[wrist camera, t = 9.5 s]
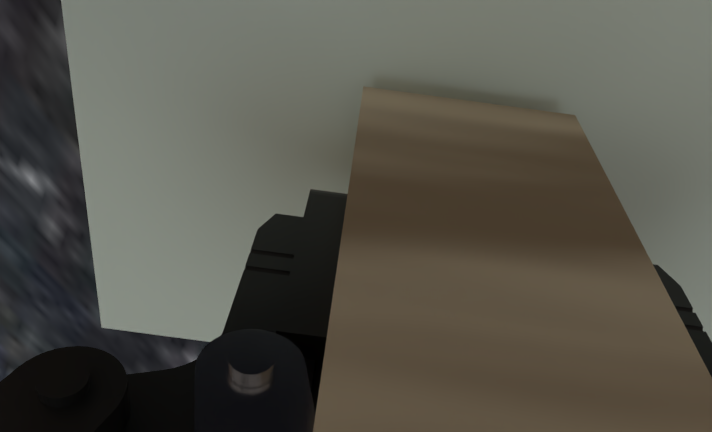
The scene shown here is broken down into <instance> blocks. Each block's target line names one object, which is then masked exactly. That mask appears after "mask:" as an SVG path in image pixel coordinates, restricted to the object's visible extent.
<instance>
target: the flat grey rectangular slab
mask: <svg viewBox="0 0 712 432" xmlns="http://www.w3.org/2000/svg"><path fill="white" fill-rule="evenodd" d="M61 4H62V12H63V20H64V28H65V36H66V45H67V53H68V61H69V69H70V77H71V85H72V93H73V101H74V109H75V117H76V125H77V133H78V141H79V149H80V157H81V165H82V173H83V181H84V189H85V197H86V206H87V214H88V222H89V230H90V238H91V246H92V254H93V262H94V270H95V278H96V286H97V294H98V302H99V310H100V318H101V326H102V328H109V329H116V330H124V331H131V332H139V333H147V334H154V335H162V336H169V337H177V338H185V339H192V340H200V341H207V342H211V341H212V340H214V339H215V338H217V337H219V336H221V335H222V332H223V330H224V327H225V324H226V321H227V318H228V315H229V312H230V309H231V306H232V303H233V300H234V297H235V294H236V291H237V289H238V286H239V283H240V280H241V277H242V274H243V271H244V270H245V265H246V262H247V259H248V256H249V253H250V252H251V247H252V244H253V241H254V238H255V235H256V232H257V230H258V228H259V227H261V226H262V225H263V224H264V223H265V222H266V221H268V220H269V219H270V218H271V217H272V216H273V215H275V214H284V215H291V216H299V217H304V213H305V209H306V205H307V201H308V196H309V192H310V189H315V190H322V191H330V192H337V193H345V194H348V188H349V181H350V174H351V168H352V161H353V154H354V147H355V140H356V133H357V126H358V120H359V113H360V106H361V99H362V92H363V86H364V87H371V88H379V89H386V90H394V91H401V92H408V93H416V94H423V95H431V96H438V97H445V98H453V99H460V100H467V101H475V102H482V103H490V104H497V105H504V106H512V107H519V108H527V109H534V110H541V111H549V112H556V113H564V114H571V115H575V116H576V118H577V120H578V121H579V123H580V125H581V127H582V129H583V131H584V133H585V135H586V137H587V139H588V141H589V143H590V145H591V146H592V148H593V150H594V152H595V154H596V156H597V158H598V160H599V162H600V164H601V166H602V168H603V170H604V171H605V173H606V175H607V177H608V179H609V181H610V183H611V185H612V187H613V189H614V191H615V193H616V195H617V196H618V198H619V200H620V202H621V204H622V206H623V208H624V210H625V212H626V214H627V216H628V218H629V220H630V221H631V223H632V225H633V227H634V229H635V231H636V233H637V235H638V237H639V239H640V241H641V243H642V244H643V246H644V248H645V250H646V252H647V254H648V256H649V258H650V260H651V262H652V264H654V265H658V266H660V267H661V268H662V269H663V270H664V271H665V272H666V273H667V274H668V275H669V276H670V277H672V278H673V279H674V280H675V281H676V282H677V283H678V284H679V285H680V286H681V287H682V289H683V291H684V293H685V295H686V296H687V298H688V300H689V302H690V304H691V305H692V307H693V313H696V314H697V316H698V318H699V320H700V322H701V324H702V325H703V331H704V332H706V333H707V334H708V336H709V338H710V340H711V342H712V0H61Z"/></svg>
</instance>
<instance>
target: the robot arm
mask: <svg viewBox="0 0 712 432" xmlns="http://www.w3.org/2000/svg"><path fill="white" fill-rule="evenodd" d="M347 195H348V194H345V193H337V192H330V191H322V190H315V189H310V192H309V196H308V201H307V205H306V209H305V213H304V217H299V216H291V215H284V214H275V215H273V216H272V217H271V218H270V219H269V220H268V221H266V222H265V223H264V224H263V225H262V226H261V227H259V228H258V230H257V232H256V235H255V238H254V241H253V244H252V247H251V252H250V253H249V256H248V259H247V262H246V265H245V270H244V271H243V274H242V277H241V280H240V283H239V286H238V289H237V291H236V294H235V297H234V300H233V303H232V306H231V309H230V312H229V315H228V318H227V321H226V324H225V327H224V330H223V332H222V335H221V336H219V337H217V338H215V339H214V340H212V341H211V342H210V343H209V344H207V345H206V346H205V348H204V349H203V350H202V351H201V353H200V354H199V356H198V358H197V359H196V360H195V361H193V362H190V363H188V364H186V365H183V366H180V367H176V368H172V369H167V370H161V371H152V372H144V373H136V374H128V375H126V372H125V370H124V367H123V366H122V364H121V363H120V362H119V360H117V359H116V358H115V357H114V356H112V355H111V354H109V353H107V352H105V351H102V350H99V349H96V348H91V347H81V346H75V347H64V348H59V349H54V350H51V351H47V352H45V353H42V354H40V355H37V356H35V357H33V358H32V359H30V360H28V361H26V362H25V363H23V364H22V365H21V366H19V367H18V368H17V369H15V370H14V371H13V372H12V373H11V374H9V375H8V376H7V377H6V378H5V379H3V380H2V381H1V382H0V432H313V428H314V421H315V414H316V407H317V400H318V394H319V387H320V380H321V373H322V366H323V359H324V352H325V346H326V339H327V332H328V325H329V318H330V311H331V305H332V298H333V291H334V284H335V277H336V270H337V263H338V257H339V250H340V243H341V236H342V229H343V222H344V215H345V209H346V202H347ZM653 266H654V268H655V269H656V271H657V273H658V275H659V277H660V279H661V281H662V283H663V285H664V287H665V289H666V291H667V293H668V294H669V296H670V298H671V300H672V302H673V304H674V306H675V308H676V310H677V312H678V314H679V316H680V318H681V319H682V321H683V323H684V325H685V327H686V329H687V331H688V333H689V335H690V337H691V339H692V341H693V343H694V344H695V346H696V348H697V350H698V352H699V354H700V356H701V358H702V360H703V362H704V364H705V366H706V368H707V369H708V371H709V373H710V375H711V377H712V342H711V340H710V338H709V336H708V334H707V333H706V332H704V331H703V325H702V324H701V322H700V320H699V318H698V316H697V314H696V313H693V307H692V305H691V304H690V302H689V300H688V298H687V296H686V295H685V293H684V291H683V289H682V287H681V286H680V285H679V284H678V283H677V282H676V281H675V280H674V279H673V278H672V277H670V276H669V275H668V274H667V273H666V272H665V271H664V270H663V269H662V268H661V267H660V266H658V265H654V264H653Z"/></svg>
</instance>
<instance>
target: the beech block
mask: <svg viewBox="0 0 712 432" xmlns="http://www.w3.org/2000/svg"><path fill="white" fill-rule="evenodd" d="M313 432H712V377H711V375H710V373H709V371H708V369H707V368H706V366H705V364H704V362H703V360H702V358H701V356H700V354H699V352H698V350H697V348H696V346H695V344H694V343H693V341H692V339H691V337H690V335H689V333H688V331H687V329H686V327H685V325H684V323H683V321H682V319H681V318H680V316H679V314H678V312H677V310H676V308H675V306H674V304H673V302H672V300H671V298H670V296H669V294H668V293H667V291H666V289H665V287H664V285H663V283H662V281H661V279H660V277H659V275H658V273H657V271H656V269H655V268H654V266H653V264H652V262H651V260H650V258H649V256H648V254H647V252H646V250H645V248H644V246H643V244H642V243H641V241H640V239H639V237H638V235H637V233H636V231H635V229H634V227H633V225H632V223H631V221H630V220H629V218H628V216H627V214H626V212H625V210H624V208H623V206H622V204H621V202H620V200H619V198H618V196H617V195H616V193H615V191H614V189H613V187H612V185H611V183H610V181H609V179H608V177H607V175H606V173H605V171H604V170H603V168H602V166H601V164H600V162H599V160H598V158H597V156H596V154H595V152H594V150H593V148H592V146H591V145H590V143H589V141H588V139H587V137H586V135H585V133H584V131H583V129H582V127H581V125H580V123H579V121H578V120H577V118H576V116H575V115H571V114H564V113H556V112H549V111H541V110H534V109H527V108H519V107H512V106H504V105H497V104H490V103H482V102H475V101H467V100H460V99H453V98H445V97H438V96H431V95H423V94H416V93H408V92H401V91H394V90H386V89H379V88H371V87H364V86H363V92H362V99H361V106H360V113H359V120H358V126H357V133H356V140H355V147H354V154H353V161H352V168H351V174H350V181H349V188H348V195H347V202H346V209H345V215H344V222H343V229H342V236H341V243H340V250H339V257H338V263H337V270H336V277H335V284H334V291H333V298H332V305H331V311H330V318H329V325H328V332H327V339H326V346H325V352H324V359H323V366H322V373H321V380H320V387H319V394H318V400H317V407H316V414H315V421H314V428H313Z"/></svg>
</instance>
